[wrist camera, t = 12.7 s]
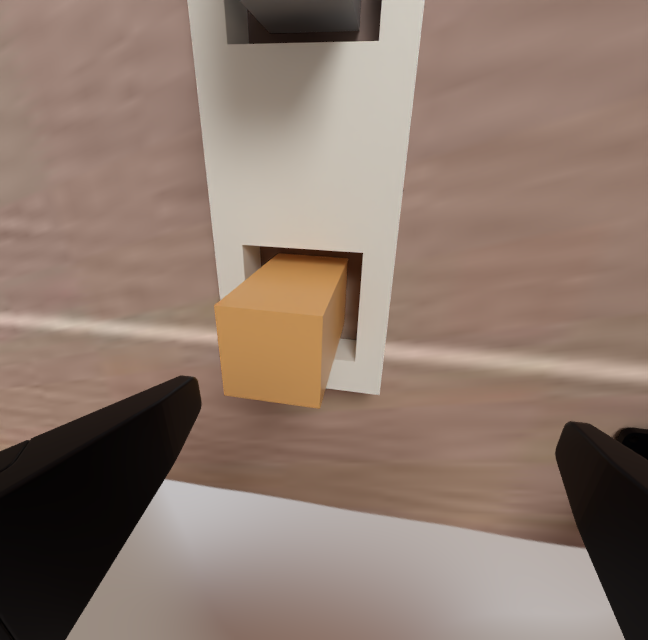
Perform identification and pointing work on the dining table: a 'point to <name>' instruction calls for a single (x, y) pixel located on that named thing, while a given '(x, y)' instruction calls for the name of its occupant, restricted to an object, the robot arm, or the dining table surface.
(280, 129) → the white slotted frame
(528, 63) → the dining table surface
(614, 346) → the dining table surface
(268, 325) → the orange plug
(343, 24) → the gray plug
